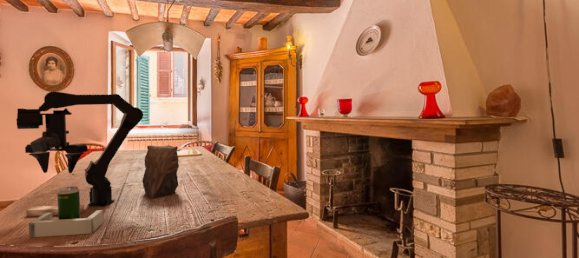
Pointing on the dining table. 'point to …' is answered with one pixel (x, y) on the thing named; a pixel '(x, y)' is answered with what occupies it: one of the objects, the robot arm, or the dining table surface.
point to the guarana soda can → (68, 203)
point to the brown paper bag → (160, 171)
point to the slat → (45, 210)
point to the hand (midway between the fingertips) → (57, 172)
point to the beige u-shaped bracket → (64, 225)
